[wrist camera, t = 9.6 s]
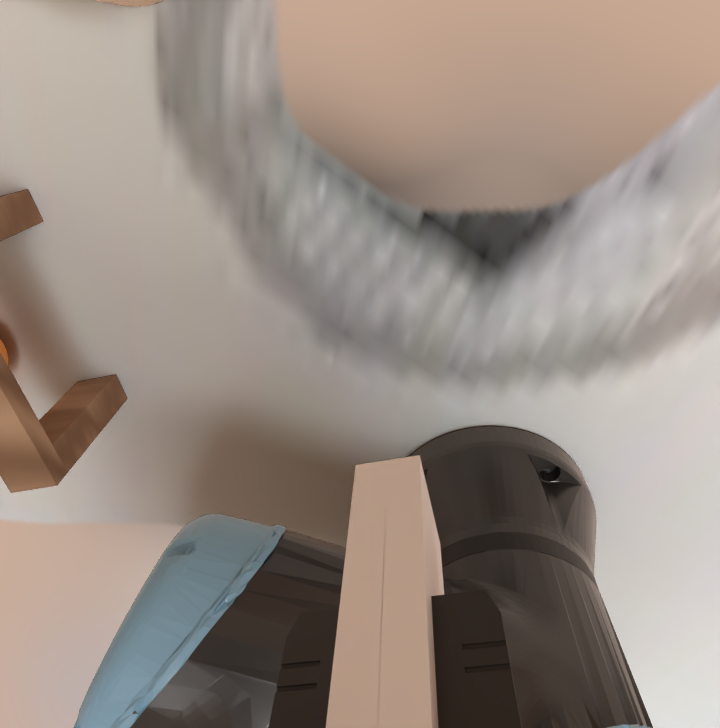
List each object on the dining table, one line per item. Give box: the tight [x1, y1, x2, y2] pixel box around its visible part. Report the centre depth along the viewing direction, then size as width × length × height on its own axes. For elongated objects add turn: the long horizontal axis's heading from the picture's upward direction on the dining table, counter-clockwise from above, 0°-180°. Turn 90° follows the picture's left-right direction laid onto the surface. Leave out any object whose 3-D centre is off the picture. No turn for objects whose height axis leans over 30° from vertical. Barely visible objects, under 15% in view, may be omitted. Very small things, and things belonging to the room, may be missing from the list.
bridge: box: [0, 189, 127, 493], centre depth 35 cm, size 15×3×10 cm, turn 13°
